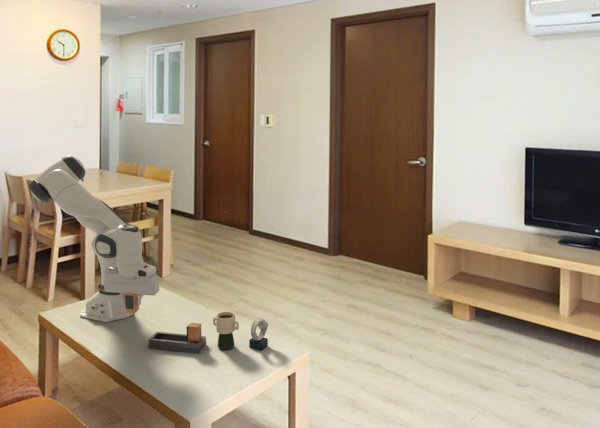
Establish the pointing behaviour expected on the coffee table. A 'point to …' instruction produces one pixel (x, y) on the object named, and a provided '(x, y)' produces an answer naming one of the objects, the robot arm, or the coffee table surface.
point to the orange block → (131, 303)
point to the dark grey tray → (179, 340)
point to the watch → (259, 341)
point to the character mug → (225, 329)
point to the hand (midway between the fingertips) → (132, 304)
